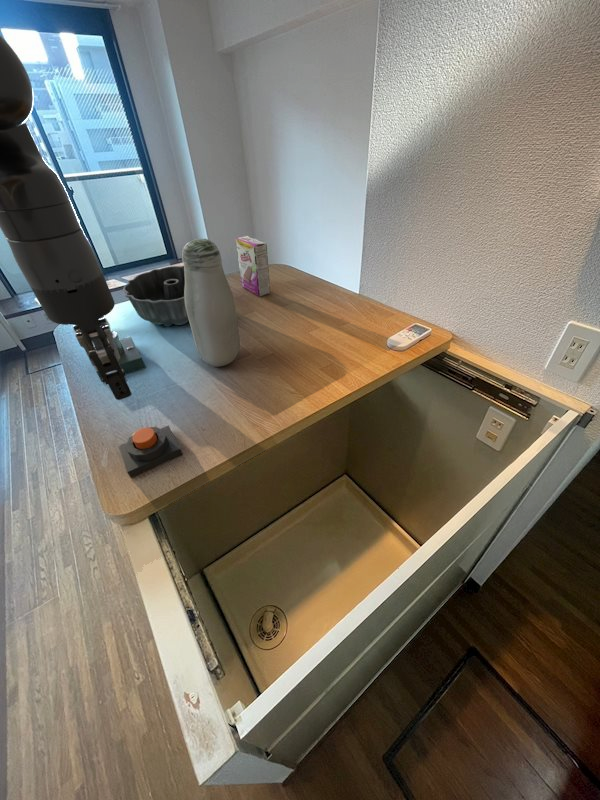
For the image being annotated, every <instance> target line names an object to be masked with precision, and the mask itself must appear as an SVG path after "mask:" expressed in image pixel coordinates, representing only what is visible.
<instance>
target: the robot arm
mask: <svg viewBox="0 0 600 800" xmlns="http://www.w3.org/2000/svg"><path fill="white" fill-rule="evenodd" d="M34 101H35V100H34V89H33V85H32V82H31V79H30V76H29V74H28V72H27V69H26V68H25V65H24V63H22V60H21V59H20V57H19V55H18V54H17V53H16V52H15V50H14V48H12V46H11V45H10V44H9V43H8V41H6V39H5V38H4V37H3V36H2V35H1V34H0V230H1V232H2V234H3V236H4V237H5V240H6V241H7V244H8V246H9V248H10V250H11V253H12V255H13V258H14V261H15V262H16V264H17V266H18V268H19V270H20V271H21V273H22V275H23V277H24V278H25V280H26V282H27V283H28V285H29V287H30V289H31V291H32V292H33V294H34V296H35V298H36V299H37V301H38V303H39V305H40V306H41V308H42V310H43V313H45V315H46V317H47V318H48V320H50V321H51V322H52V323H55V324H56V325H57V324H58V325H63V326H68V325H72V328H73V331H74V336H75V338H76V341H77V342H78V344H79V346H80V347H81V348H83V349H84V351H85V353H86V355H87V357H88V359H89V361H90V363H91V365H92V366H93V367H94V368H95V367H97V369H98V371H99V373H100V375H101V376H102V378H103V379H102V380H103V382H102V383H104V384H105V385H106V386H108V387H109V388H110V391H111V392H112V395H113V396H114V398H115V400H117V401H121V400H124V399H127V398H130V397H131V396H132V394H133V393H132V391H131V389H130V386H129V384H128V383H127V379H126V377H125V376H126V375H127V374H125V373H124V371H123V369H121V367H120V365H119V363H118V361H119V360H120V355H119V353H118V351H117V348H116V346H115V344H114V342H113V334H112V332H113V331H112V329H111V330H110V328H111V327H110V328H109V326H108V324H107V322H106V319H107V318H106V317H105V316H107V315H108V314H109V313H111V312H112V311H113V310H114V308H115V306H116V305H115V299H114V297H113V295H112V293H111V290H110V288H109V284H108V282H107V280H106V277H105V275H104V273H103V270H102V268H101V265H100V263H99V260H98V258H97V255H96V253H95V251H94V248H93V246H92V244H91V242H90V241H89V238H88V237H87V236H86V233H85V232H84V229H83V228H82V226H81V223H80V219H79V218H78V216H77V213H76V210H75V209H74V208H75V207H74V206H73V204H72V201H71V198H70V196H69V194H68V191H67V190H66V188H65V185H64V184H63V182H62V180H61V178H60V177H59V175H58V174H57V172H56V171H55V170H54V169H53V168H52V167H51V166H50V165H49V164H48V163H47V162H46V161H45V159H44V158H43V155H42V154H41V152H40V150H39V147H38V145H37V143H36V141H35V139H34V138H35V137H34V136H33V135H32V132H31V130H30V128H29V125H28V124H27V120H28V119H29V117H30V115H31V113H32V112H33V109H34ZM102 316H104V317H105V318H106V319H105V318H102V319H100V318H101V317H102Z"/></svg>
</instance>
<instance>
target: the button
mask: <svg viewBox="0 0 600 800" xmlns="http://www.w3.org/2000/svg"><path fill="white" fill-rule="evenodd" d="M132 435H133V437H132V439H133V442H134V443H135V445H136V447H137V448H138V449H148V448H150V447H152V446H153V445H155V443H156V442H157V436H156V434H155V432H154V430H153V429H151V428H146V427H141V428H139V429H137V430H136V431H135V432H134V433H132Z"/></svg>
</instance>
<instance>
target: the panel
mask: <svg viewBox="0 0 600 800" xmlns="http://www.w3.org/2000/svg"><path fill="white" fill-rule="evenodd" d="M119 339H120V342H121V344H122V346H123V349H124V352H123V353H122V354H121V355H120V360H119V361H118V363H119V365H120V367H121V369H123V371H124V373H125V375H128V374H131V373H134V372H137V371H141V370H143V369H146V368H147V366H146V364H145V361H144V359H143V356H142V355H141V353H140V351H139V349H138V348H137V345H136V344H135V342H134V341H133V338H132V337H131V336H128V337H124V338H119ZM94 369H95V372H96V374H97V376H98V378H99V380H100V382H101V383H104V382H103V380H102V379H103V378H102V376H101V375H100V373H99V371H98V369H97V367H94Z"/></svg>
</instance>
